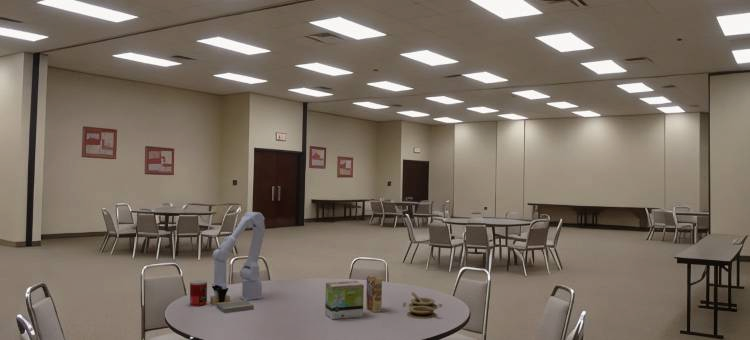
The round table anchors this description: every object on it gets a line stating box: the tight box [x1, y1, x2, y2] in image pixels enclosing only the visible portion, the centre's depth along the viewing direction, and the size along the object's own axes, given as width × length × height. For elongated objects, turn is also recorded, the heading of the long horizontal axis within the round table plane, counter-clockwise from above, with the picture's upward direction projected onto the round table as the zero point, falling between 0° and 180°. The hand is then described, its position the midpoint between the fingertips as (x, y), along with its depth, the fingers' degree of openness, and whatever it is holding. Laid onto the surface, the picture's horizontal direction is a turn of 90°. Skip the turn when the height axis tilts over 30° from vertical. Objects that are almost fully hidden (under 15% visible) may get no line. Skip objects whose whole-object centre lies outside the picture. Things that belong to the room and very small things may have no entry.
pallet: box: [209, 293, 231, 306], centre depth 279 cm, size 8×5×4 cm, turn 122°
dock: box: [216, 299, 255, 314], centre depth 268 cm, size 14×12×2 cm
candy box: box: [365, 275, 383, 313], centre depth 267 cm, size 9×4×15 cm, turn 26°
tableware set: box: [402, 292, 443, 320], centre depth 266 cm, size 30×20×6 cm, turn 174°
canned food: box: [189, 279, 208, 307], centre depth 276 cm, size 8×8×11 cm
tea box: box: [324, 280, 365, 320], centre depth 256 cm, size 15×10×15 cm, turn 114°
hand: (220, 301), depth 279 cm, fingers closed on pallet, 5 cm apart
